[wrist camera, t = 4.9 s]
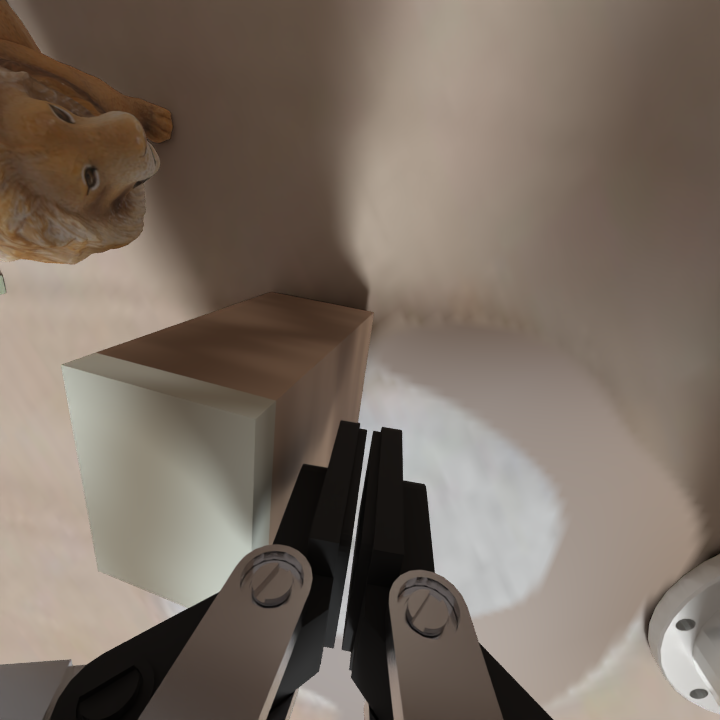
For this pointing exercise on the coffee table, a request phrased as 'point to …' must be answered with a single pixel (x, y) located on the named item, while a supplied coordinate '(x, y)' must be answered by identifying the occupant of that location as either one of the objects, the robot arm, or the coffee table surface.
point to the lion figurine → (68, 155)
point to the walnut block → (210, 434)
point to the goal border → (2, 286)
